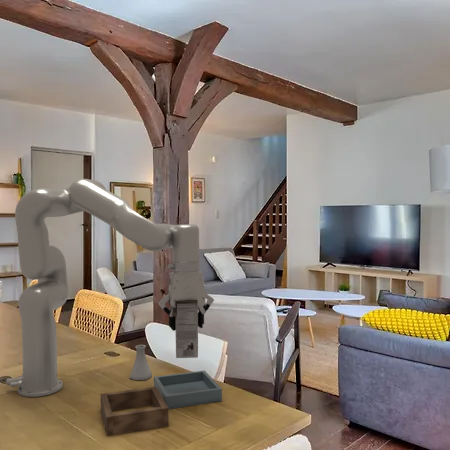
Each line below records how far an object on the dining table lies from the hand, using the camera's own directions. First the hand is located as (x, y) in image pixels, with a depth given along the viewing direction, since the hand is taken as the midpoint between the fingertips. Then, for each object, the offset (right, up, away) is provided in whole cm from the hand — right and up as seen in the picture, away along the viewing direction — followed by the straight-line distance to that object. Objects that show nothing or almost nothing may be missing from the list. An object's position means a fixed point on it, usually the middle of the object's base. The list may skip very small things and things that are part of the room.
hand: (186, 327), depth 136 cm
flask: (-16, -19, +15) cm, 29 cm away
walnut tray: (-13, -20, -14) cm, 28 cm away
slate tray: (0, -20, +1) cm, 20 cm away
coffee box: (0, -8, 0) cm, 8 cm away
